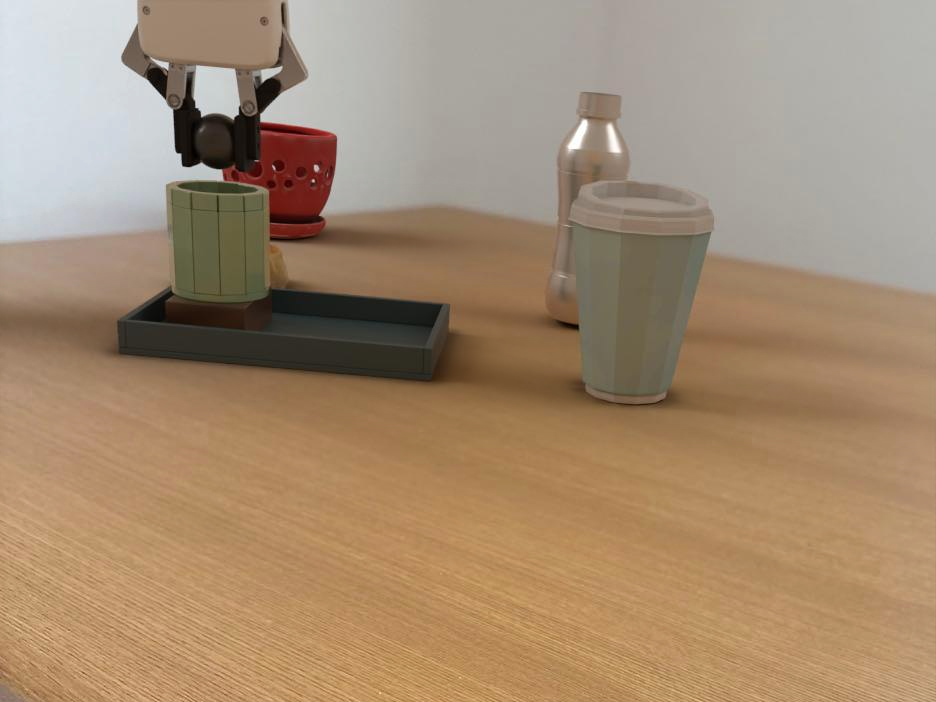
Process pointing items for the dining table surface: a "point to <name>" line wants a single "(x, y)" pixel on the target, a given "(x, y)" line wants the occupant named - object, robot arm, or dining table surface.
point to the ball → (214, 141)
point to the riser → (220, 313)
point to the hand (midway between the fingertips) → (218, 165)
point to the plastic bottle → (579, 163)
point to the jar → (218, 240)
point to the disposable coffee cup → (636, 283)
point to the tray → (304, 335)
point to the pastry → (277, 268)
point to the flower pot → (293, 177)
